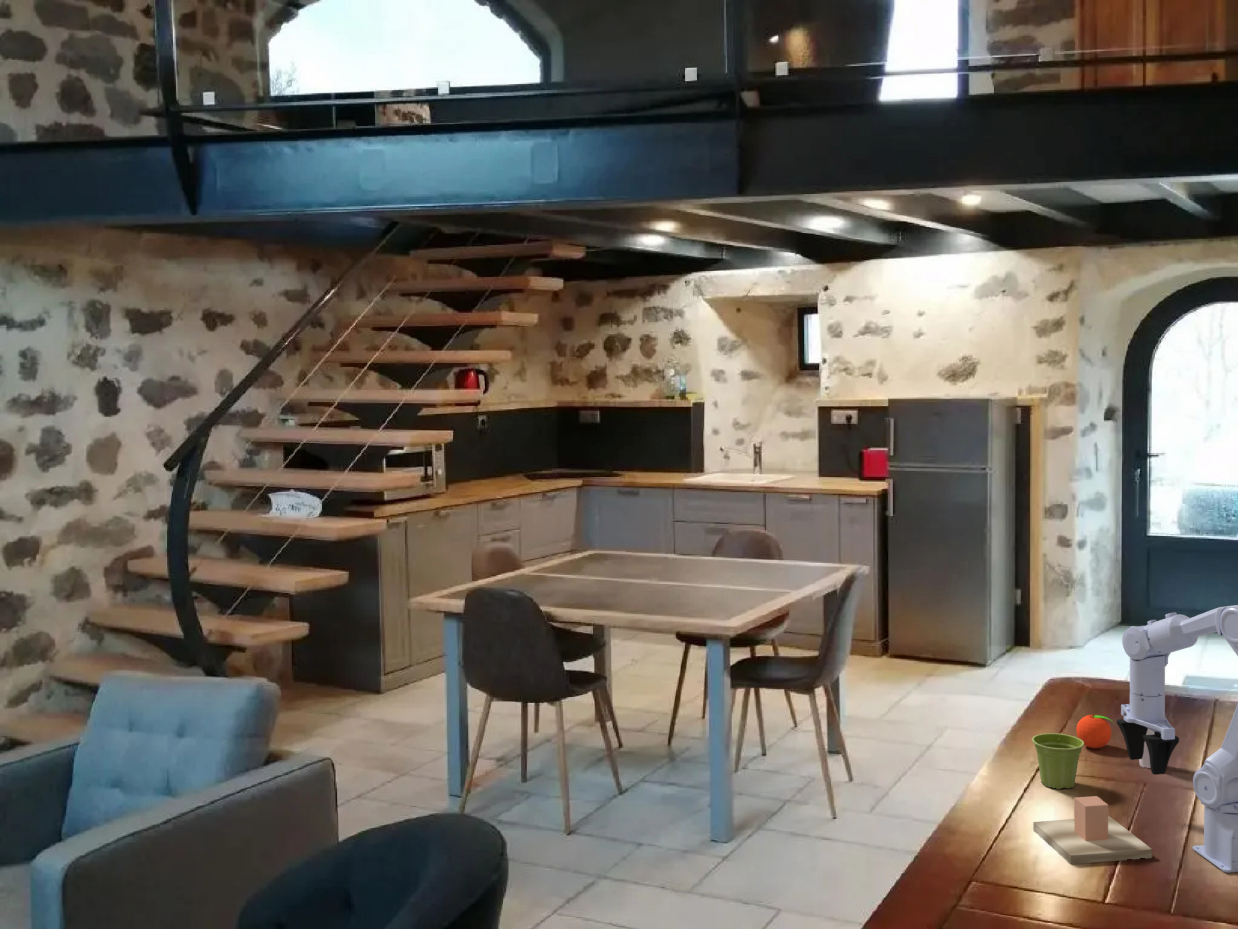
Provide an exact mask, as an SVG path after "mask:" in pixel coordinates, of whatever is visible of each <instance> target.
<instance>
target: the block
mask: <svg viewBox="0 0 1238 929" xmlns="http://www.w3.org/2000/svg"><path fill="white" fill-rule="evenodd" d="M1073 799H1074V800H1073V805H1074V807H1073V810H1074V812H1073V813H1074V814H1073V816H1074V818H1073V819H1074V831H1075V832H1076V833H1077V834H1078V835H1079V836H1080V837H1082V838H1083V839H1084V840H1085V841H1089V840H1103V839H1108V816H1109V804H1108V803H1106V802H1105V801H1103V799H1102V798H1101V797H1099V796H1098V795H1094V796H1081V797H1079V796H1078V797H1077V796H1076V797H1074V798H1073Z"/></svg>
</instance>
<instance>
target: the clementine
mask: <svg viewBox="0 0 1238 929" xmlns="http://www.w3.org/2000/svg"><path fill="white" fill-rule="evenodd" d="M1108 721H1109V722H1110V721H1111V722H1112V723H1113V725H1114V726H1115V727H1116V728H1117V727H1118V726H1117V725H1116V724H1115V722H1114V721H1113V720H1112V719H1111V718H1108V717H1107V716H1103V715H1097V714H1088V715H1085V716H1083V717H1082V718H1081V719H1080V720H1078V723H1077V725H1076V731H1075V732H1076V736H1077V738H1079V739H1081V740H1082V741H1083V742H1084V746H1085V747H1087V748H1091V749H1101V748H1103V747H1105V746H1106V745H1108V743H1109V742H1110V741H1111V738H1112V728H1111V725H1110V723H1109V722H1108Z"/></svg>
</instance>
